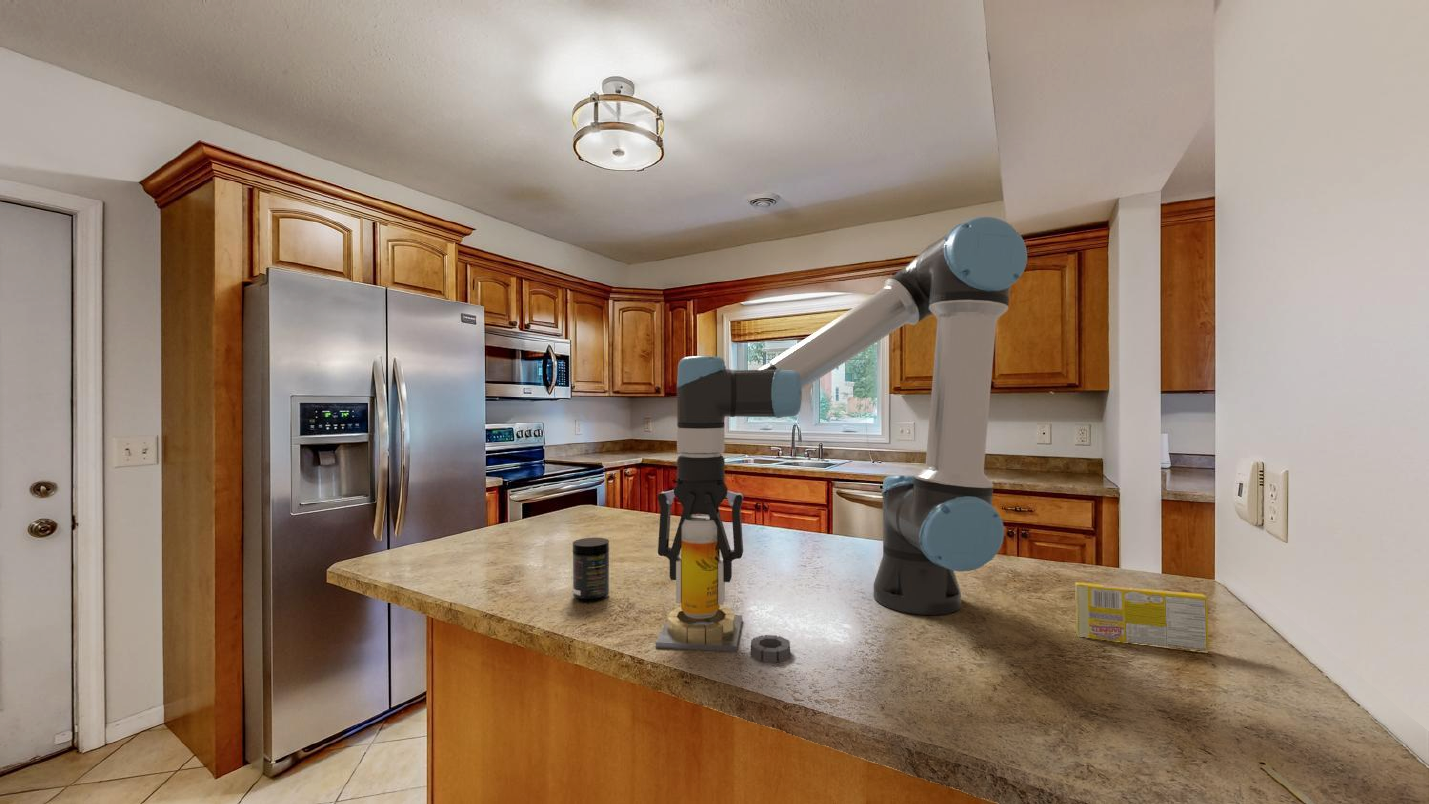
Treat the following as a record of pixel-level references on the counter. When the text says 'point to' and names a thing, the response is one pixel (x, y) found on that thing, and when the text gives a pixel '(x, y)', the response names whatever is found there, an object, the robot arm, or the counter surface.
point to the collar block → (701, 631)
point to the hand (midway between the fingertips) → (700, 600)
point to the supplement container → (590, 569)
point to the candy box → (1142, 616)
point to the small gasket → (770, 648)
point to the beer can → (699, 567)
